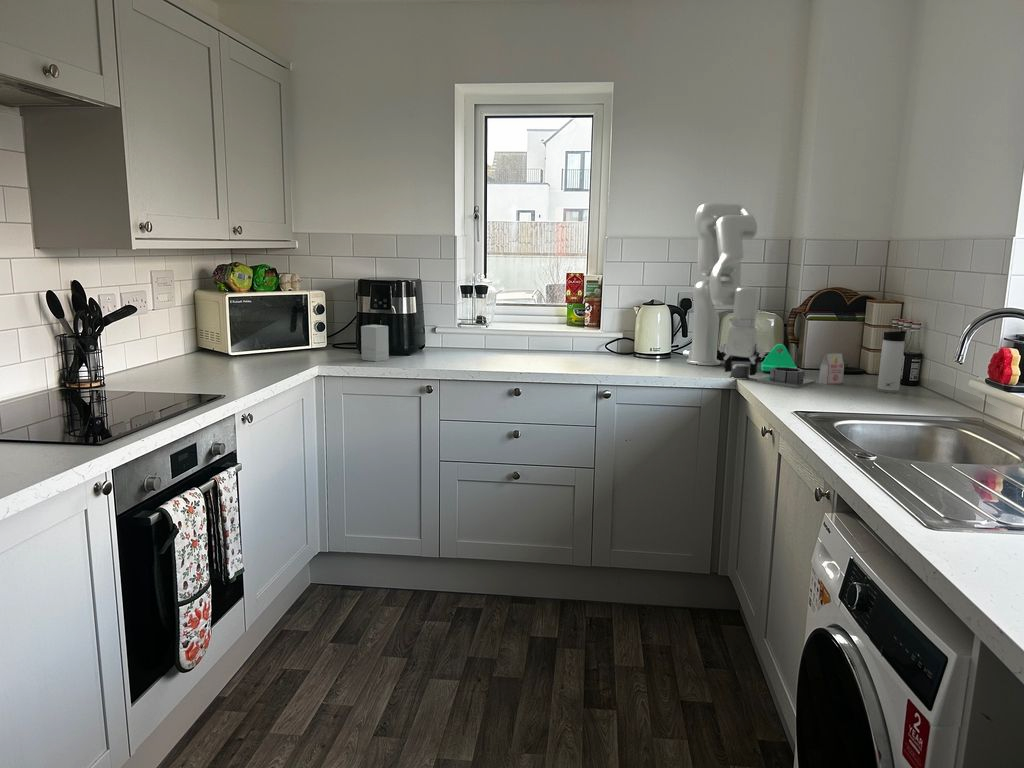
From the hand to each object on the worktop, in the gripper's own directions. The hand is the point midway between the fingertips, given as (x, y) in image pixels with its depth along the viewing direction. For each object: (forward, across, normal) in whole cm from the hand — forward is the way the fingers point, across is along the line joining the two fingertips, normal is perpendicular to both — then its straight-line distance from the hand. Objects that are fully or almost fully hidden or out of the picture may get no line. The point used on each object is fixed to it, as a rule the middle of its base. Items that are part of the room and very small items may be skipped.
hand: (740, 373), depth 266 cm
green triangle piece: (+2, +4, +22) cm, 22 cm away
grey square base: (+2, +15, +4) cm, 16 cm away
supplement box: (+2, -106, -77) cm, 131 cm away
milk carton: (+2, +25, +16) cm, 30 cm away
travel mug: (+2, +44, +15) cm, 46 cm away
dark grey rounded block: (+2, 0, 0) cm, 2 cm away
